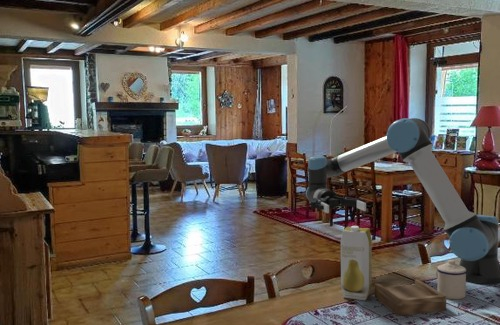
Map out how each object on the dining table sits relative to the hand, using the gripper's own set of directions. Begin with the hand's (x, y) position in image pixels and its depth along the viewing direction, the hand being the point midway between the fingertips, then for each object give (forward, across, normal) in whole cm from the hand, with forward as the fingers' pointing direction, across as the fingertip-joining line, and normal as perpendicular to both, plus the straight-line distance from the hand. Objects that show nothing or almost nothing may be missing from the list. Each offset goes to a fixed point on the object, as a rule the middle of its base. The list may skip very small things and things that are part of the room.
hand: (346, 208), depth 171 cm
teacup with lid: (+15, -30, -28) cm, 44 cm away
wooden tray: (+20, -13, -28) cm, 36 cm away
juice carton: (+9, 0, -28) cm, 30 cm away
